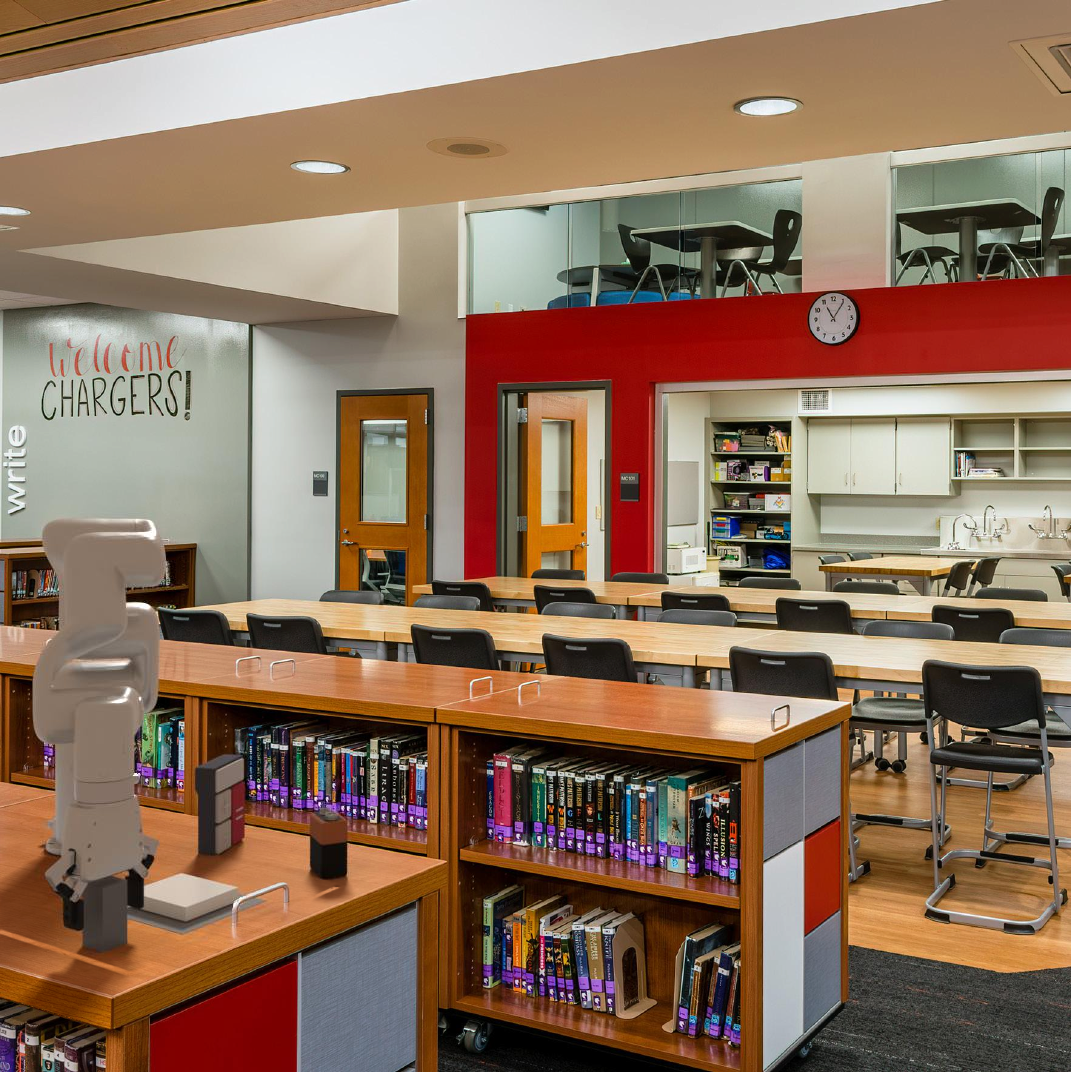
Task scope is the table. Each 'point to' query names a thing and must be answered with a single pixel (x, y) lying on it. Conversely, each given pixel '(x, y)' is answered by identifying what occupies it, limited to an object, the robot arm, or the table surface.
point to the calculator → (220, 803)
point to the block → (105, 914)
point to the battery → (328, 844)
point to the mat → (191, 925)
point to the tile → (187, 897)
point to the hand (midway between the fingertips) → (104, 917)
